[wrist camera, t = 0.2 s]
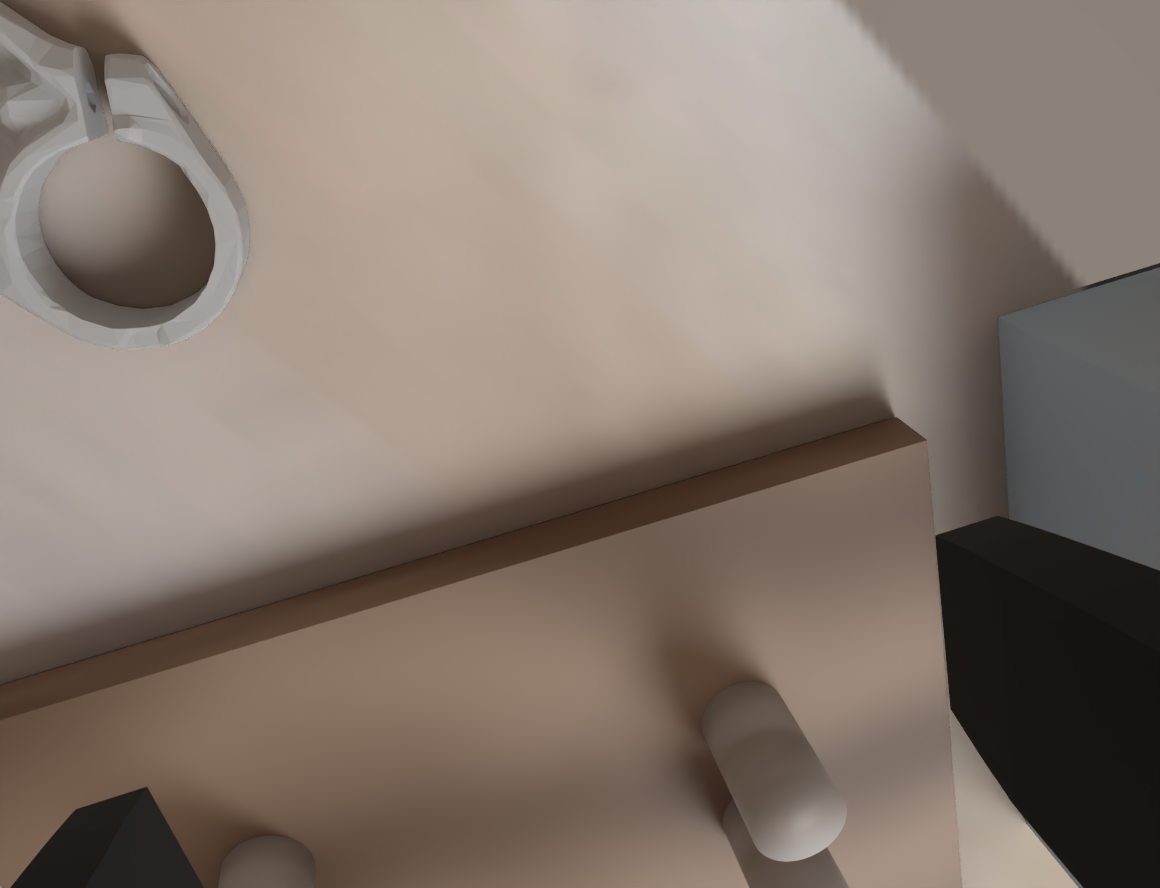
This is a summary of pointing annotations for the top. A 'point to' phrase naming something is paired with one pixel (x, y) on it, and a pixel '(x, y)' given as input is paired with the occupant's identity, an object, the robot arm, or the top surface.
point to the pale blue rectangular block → (1087, 417)
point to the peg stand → (551, 703)
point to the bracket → (72, 117)
